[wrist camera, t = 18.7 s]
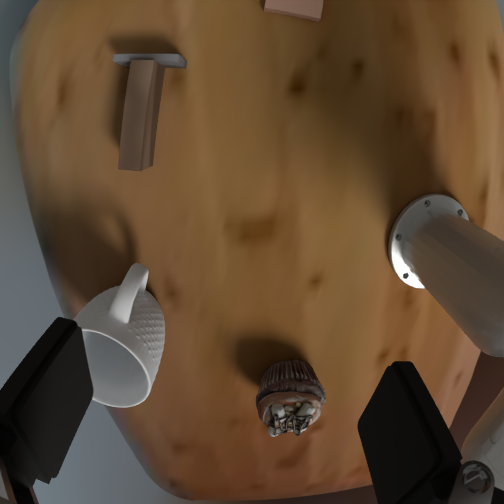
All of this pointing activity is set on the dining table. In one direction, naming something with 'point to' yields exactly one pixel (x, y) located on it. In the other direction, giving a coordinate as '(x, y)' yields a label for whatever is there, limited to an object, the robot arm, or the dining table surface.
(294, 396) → the cupcake
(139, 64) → the scraper
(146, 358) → the mug
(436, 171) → the dining table surface
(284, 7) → the tile
